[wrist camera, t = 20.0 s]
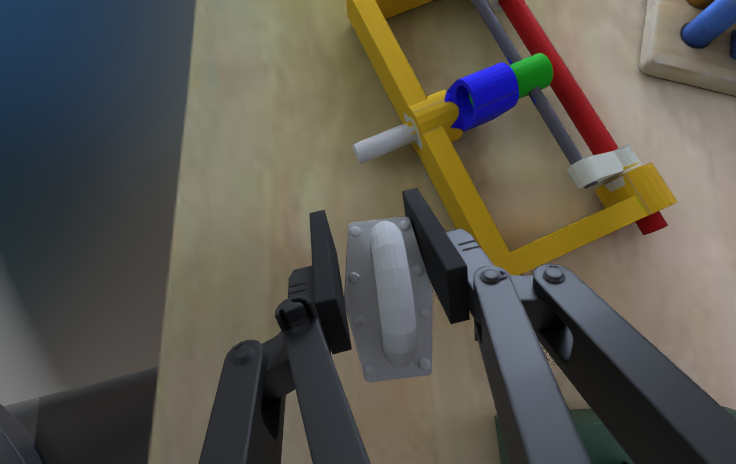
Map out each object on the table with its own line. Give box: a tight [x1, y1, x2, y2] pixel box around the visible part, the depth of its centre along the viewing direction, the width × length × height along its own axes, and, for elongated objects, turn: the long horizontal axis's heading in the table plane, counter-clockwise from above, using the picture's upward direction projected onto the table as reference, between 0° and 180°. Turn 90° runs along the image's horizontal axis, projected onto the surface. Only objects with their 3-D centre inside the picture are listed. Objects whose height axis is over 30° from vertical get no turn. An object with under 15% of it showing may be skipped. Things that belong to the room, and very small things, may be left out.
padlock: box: [344, 217, 433, 382], centre depth 16 cm, size 7×4×10 cm, turn 7°
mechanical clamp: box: [347, 0, 678, 276], centre depth 26 cm, size 18×6×30 cm
